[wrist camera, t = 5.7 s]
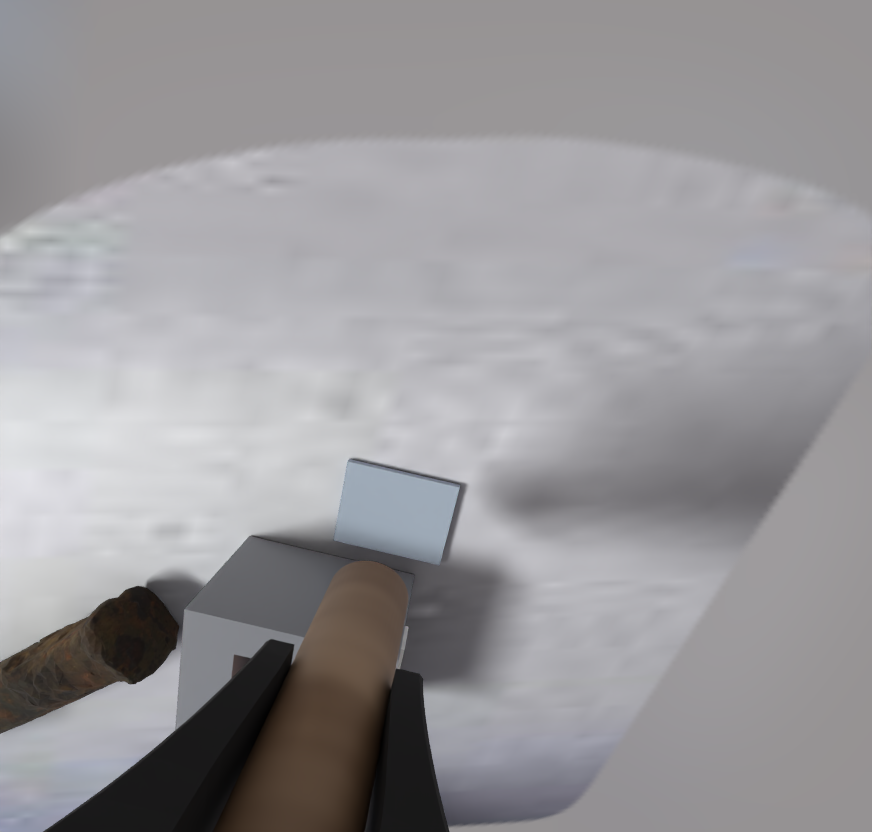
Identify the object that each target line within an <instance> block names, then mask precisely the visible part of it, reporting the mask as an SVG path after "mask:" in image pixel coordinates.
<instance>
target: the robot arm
mask: <svg viewBox="0 0 872 832" xmlns="http://www.w3.org/2000/svg"><path fill="white" fill-rule="evenodd" d="M294 645H295V644H291V643H286V642H282V641H278V640H274V639H270V640H268V641H266V642H265V643H264V645H263V646H262V647H261V648H260V649H259V650H258V651H257V652H256V653H255V655H254V656H253V657H252V658H251V659H250V660H249V661H248V662H247V663H246V664H245V665H244V666H243V667H242V668H241V669H240V670H239V671H238V672H237V673H236V674H235V675H234V676H233V677H232V678H231V679H230V680H229V681H228V682H227V683H226V684H225V685H224V686H223V687H222V688H221V689H220V690H219V691H218V692H217V693H216V694H215V695H214V696H213V697H212V698H211V699H210V700H209V701H208V702H206V703H205V704H204V705H203V706H202V707H201V708H200V709H199V710H198V711H197V712H196V713H195V714H194V715H192V716H191V717H190V718H189V719H188V720H187V721H186V722H185V723H183V724H182V725H181V726H180V727H179V728H178V729H176V730H175V731H174V732H173V733H172V734H171V735H170V736H168V737H167V738H166V739H165V740H164V741H163V742H162V743H160V744H159V745H158V746H157V747H156V748H154V749H153V750H152V751H151V752H150V753H148V754H147V755H146V756H145V757H143V758H142V759H141V760H140V761H139V762H137V763H136V764H135V765H134V766H132V767H131V768H130V769H128V770H127V771H126V772H125V773H123V774H122V775H121V776H119V777H118V778H117V779H116V780H114V781H113V782H112V783H110V784H109V785H108V786H106V787H105V788H104V789H102V790H101V791H100V792H98V793H97V794H96V795H94V796H93V797H91V798H90V799H89V800H87V801H86V802H84V803H83V804H82V805H80V806H79V807H78V808H76V809H75V810H73V811H72V812H71V813H69V814H68V815H67V816H65V817H64V818H62V819H61V820H59V821H58V822H57V823H55V824H54V825H52V826H51V827H49V828H48V829H46V830H45V831H44V832H213V830H214V828H215V826H216V824H217V822H218V819H219V817H220V815H221V813H222V811H223V809H224V807H225V805H226V803H227V800H228V798H229V796H230V794H231V792H232V790H233V788H234V786H235V784H236V781H237V779H238V777H239V775H240V773H241V771H242V769H243V767H244V764H245V762H246V760H247V758H248V756H249V754H250V752H251V750H252V748H253V745H254V743H255V741H256V739H257V737H258V735H259V733H260V731H261V728H262V726H263V724H264V722H265V720H266V718H267V716H268V714H269V712H270V709H271V707H272V705H273V703H274V701H275V699H276V697H277V695H278V693H279V690H280V688H281V686H282V684H283V682H284V680H285V678H286V676H287V673H288V671H289V669H290V667H291V664H292V657H293V651H294ZM365 832H449V829H448V825H447V821H446V817H445V813H444V809H443V805H442V801H441V797H440V793H439V788H438V784H437V779H436V775H435V770H434V765H433V759H432V754H431V749H430V744H429V738H428V731H427V724H426V717H425V708H424V697H423V678H422V677H421V675H420V674H418V673H413V672H409V671H405V670H401V669H397V668H396V670H395V674H394V678H393V682H392V686H391V690H390V696H389V701H388V706H387V711H386V717H385V722H384V727H383V734H382V741H381V748H380V753H379V759H378V764H377V769H376V775H375V780H374V785H373V790H372V796H371V801H370V806H369V812H368V817H367V822H366V828H365Z"/></svg>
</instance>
